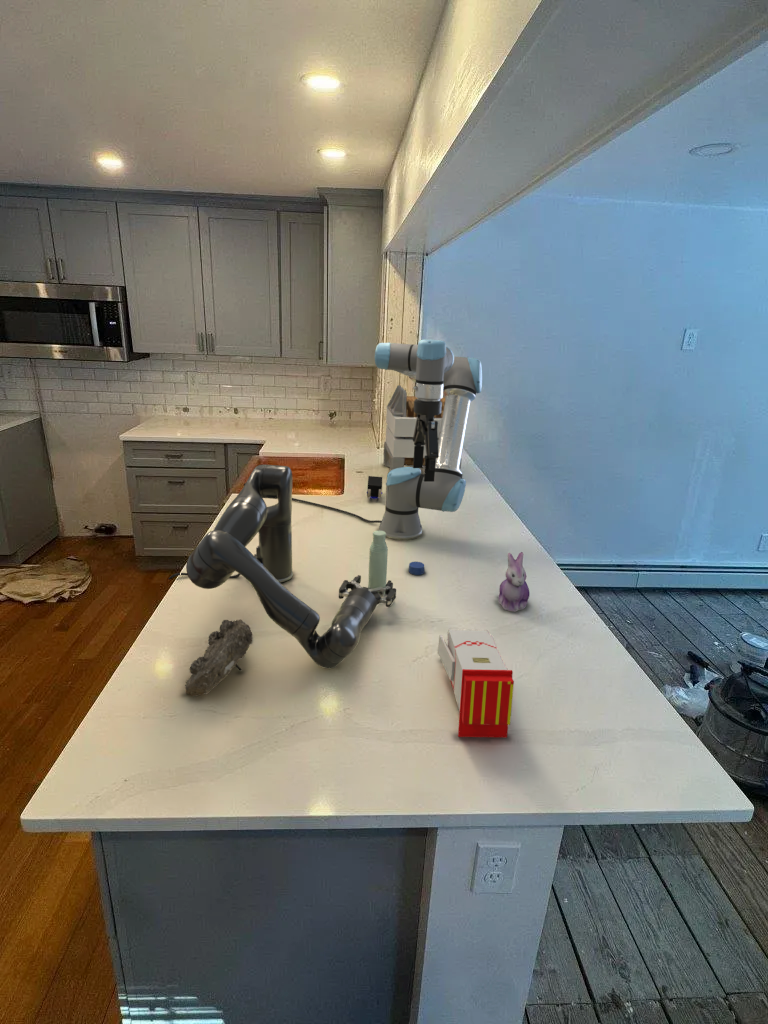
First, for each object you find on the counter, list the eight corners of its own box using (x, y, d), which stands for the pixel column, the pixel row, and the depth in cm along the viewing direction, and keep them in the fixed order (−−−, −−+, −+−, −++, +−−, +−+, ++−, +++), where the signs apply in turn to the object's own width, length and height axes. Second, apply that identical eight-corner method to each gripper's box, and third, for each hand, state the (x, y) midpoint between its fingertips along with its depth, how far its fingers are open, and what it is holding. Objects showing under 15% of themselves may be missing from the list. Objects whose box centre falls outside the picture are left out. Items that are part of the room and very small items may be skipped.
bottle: (367, 588, 160) (370, 529, 154) (385, 588, 160) (388, 529, 154) (368, 597, 155) (370, 536, 149) (386, 597, 156) (389, 536, 150)
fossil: (205, 622, 132) (252, 592, 127) (234, 650, 134) (280, 621, 129) (164, 690, 112) (217, 657, 107) (198, 721, 115) (251, 691, 110)
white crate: (382, 463, 289) (386, 382, 275) (445, 464, 293) (451, 384, 279) (390, 482, 257) (394, 392, 243) (460, 483, 261) (468, 394, 247)
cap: (408, 574, 170) (408, 567, 169) (408, 567, 174) (409, 560, 173) (424, 575, 169) (424, 568, 169) (424, 568, 174) (424, 561, 173)
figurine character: (382, 506, 231) (382, 491, 244) (383, 489, 227) (382, 474, 241) (366, 505, 230) (366, 490, 244) (366, 488, 227) (367, 474, 240)
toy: (488, 613, 130) (523, 677, 101) (484, 667, 133) (517, 744, 104) (435, 612, 130) (455, 676, 101) (432, 666, 133) (451, 743, 103)
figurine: (511, 616, 149) (518, 564, 143) (487, 598, 157) (493, 549, 152) (539, 609, 153) (547, 558, 148) (514, 592, 161) (521, 544, 156)
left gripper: (329, 617, 141) (349, 588, 156) (384, 628, 138) (399, 597, 153) (329, 591, 138) (350, 564, 153) (386, 601, 135) (401, 572, 150)
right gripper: (405, 392, 165) (401, 462, 172) (425, 406, 142) (420, 487, 149) (430, 392, 166) (425, 462, 173) (454, 407, 143) (447, 487, 150)
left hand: (374, 580), depth 153 cm, fingers open, 8 cm apart
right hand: (423, 474), depth 161 cm, fingers open, 13 cm apart
